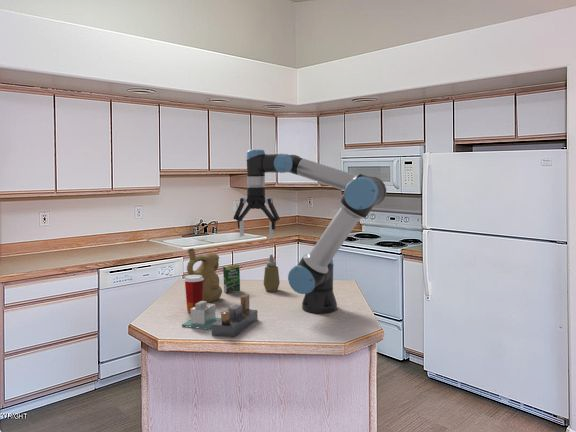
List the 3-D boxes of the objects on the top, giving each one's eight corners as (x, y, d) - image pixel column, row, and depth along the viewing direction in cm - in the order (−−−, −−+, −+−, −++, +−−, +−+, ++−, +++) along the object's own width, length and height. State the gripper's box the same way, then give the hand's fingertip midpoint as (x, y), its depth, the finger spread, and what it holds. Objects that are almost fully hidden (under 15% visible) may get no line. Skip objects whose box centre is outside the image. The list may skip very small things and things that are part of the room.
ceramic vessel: (231, 297, 229) (230, 245, 226) (202, 307, 213) (200, 251, 210) (204, 292, 238) (203, 242, 236) (174, 302, 222) (173, 248, 220)
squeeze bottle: (270, 287, 248) (270, 253, 246) (283, 290, 243) (282, 254, 241) (260, 290, 241) (259, 255, 240) (272, 293, 236) (272, 257, 235)
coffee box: (226, 293, 237) (225, 267, 236) (223, 292, 239) (222, 266, 238) (240, 291, 241) (240, 265, 240) (237, 289, 244) (237, 264, 243)
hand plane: (257, 319, 195) (257, 295, 194) (234, 337, 174) (233, 310, 173) (237, 317, 198) (236, 293, 197) (211, 335, 177) (211, 308, 176)
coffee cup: (205, 308, 212) (204, 274, 211) (202, 313, 204) (202, 278, 202) (186, 308, 212) (185, 274, 210) (182, 313, 204) (181, 278, 202)
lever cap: (215, 318, 194) (215, 299, 193) (204, 325, 185) (204, 305, 185) (202, 317, 196) (201, 298, 195) (190, 324, 187) (190, 303, 187)
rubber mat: (223, 320, 194) (223, 318, 194) (209, 329, 183) (209, 327, 183) (197, 317, 198) (197, 315, 198) (181, 326, 187) (181, 324, 187)
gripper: (286, 186, 203) (287, 236, 206) (232, 186, 212) (233, 234, 214) (280, 187, 196) (281, 239, 198) (225, 186, 205) (226, 236, 207)
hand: (256, 236), depth 206 cm, fingers open, 13 cm apart
